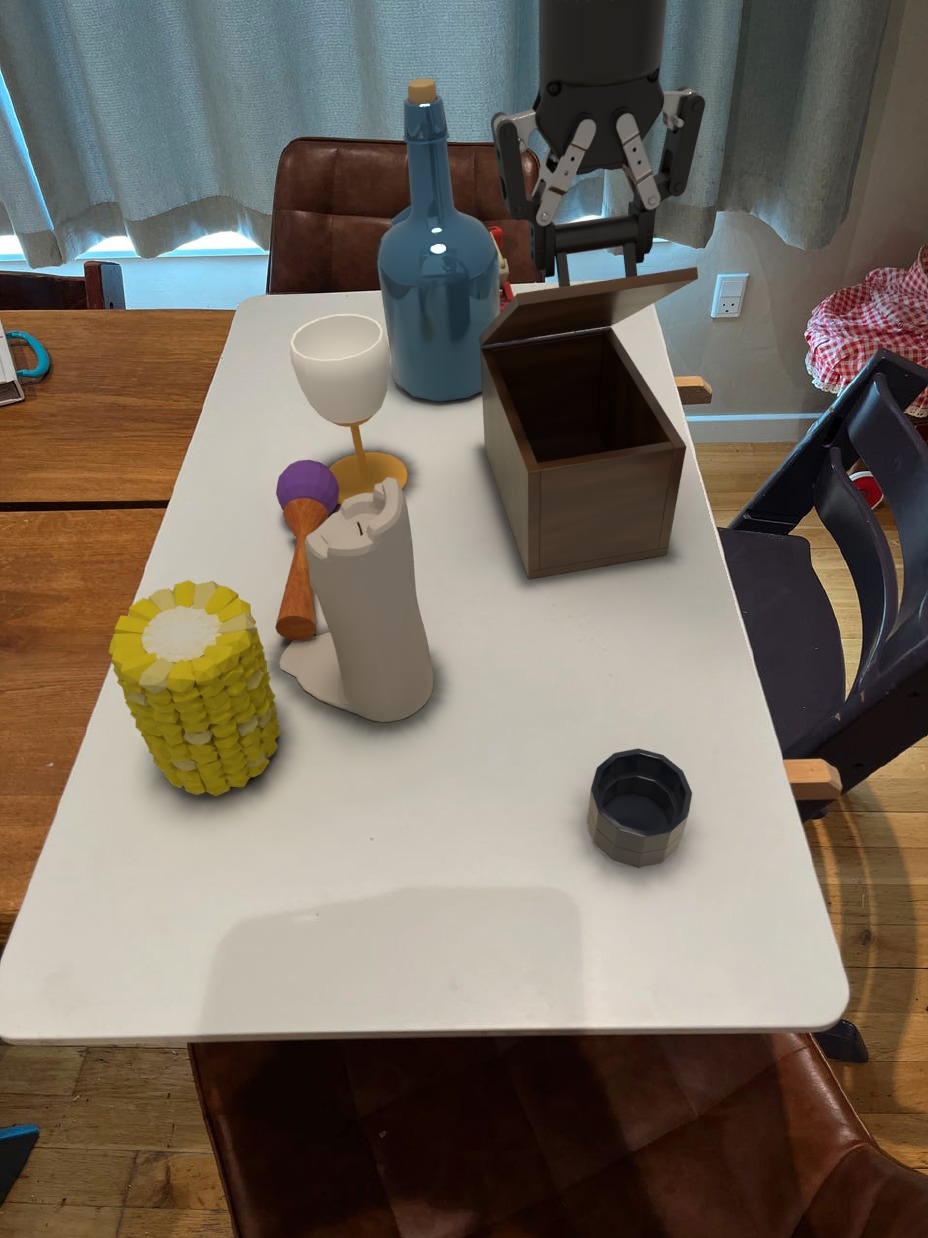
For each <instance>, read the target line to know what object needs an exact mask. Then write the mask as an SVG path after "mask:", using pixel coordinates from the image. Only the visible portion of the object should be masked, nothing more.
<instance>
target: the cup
mask: <svg viewBox="0 0 928 1238" xmlns="http://www.w3.org/2000/svg"><path fill="white" fill-rule="evenodd" d="M289 348H290V359H291V361H290V362H291V365H292V367H293V371H294V374H295V376H296V379H297V382H298V384H299V386H300V389H301V391H302V393H303V395H304V396H305V398H306V400H307V401H308V403H309V405H310V406H311V408H313V409H314V412H316V413H317V414H318V416H319V417H321V418H323V419H324V420H326V421H327V422H330V423H331V424H334V425H337V426H339V427H344V428H349V429H350V432H351V437H352V442H353V447H354V451H355V452H354V453H355V454H351V455H348V456H347V455H346V456H345V457H343V458H341V459H340V460H338V461H336V462H334V463H333V464H332V465H331V466H330V467H328V468H329V470H330V471H331V472H332V473H333V475H334V476H335V478H336V479H337V482H338V487H339V498H338V501H337V505H340V506H341V505H342V503H343V502H344V501H345V499H348V498H350V497H352V496H355V495H358V494H363V493H373V492H374V488H375V485H376V484H379V483H382V482H383V481H384V480H385V479H386V478H387V477H389V478H395V479H396V480H397V481H398V483H399V484H400V485H401V488H402V490H403V489H404V488H405V486H406V485H407V483H408V475H409V471H408V470H407V468H406V466H405V464H404V462H402V460H400V459H398V458H397V457H395V456H394V455H391V454H387V453H383V452H380V451H379V452H378V451H369V452H367V451H364V446H363V441H362V435H361V431H360V426H361V425H364V424H366V423H367V422H369V421H370V420H371V419H372V418H373V417H374V416H375V415H376V414H377V413H378V412H379V411H380V409H381V408H382V407H383V405H384V402H385V400H386V396H387V392H388V388H389V381H390V372H391V355H390V348H389V342H388V339H387V337H386V334H385V330H384V329H383V327H382V326H381V324H380V322H379V321H376V320H375V319H373V318H371V317H369V316H367V315H361V314H356V313H355V314H354V313H339V314H337V313H335V314H330V315H327V316H322V317H319V318H316V319H313V320H311V321H309V322H307V323H305V324H303V325H302V326H301V327H299V328H298V329H297V330H296V331H295V332H293V334H292V337H291V340H290V342H289Z"/></svg>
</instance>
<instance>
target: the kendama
mask: <svg viewBox="0 0 928 1238" xmlns="http://www.w3.org/2000/svg"><path fill="white" fill-rule="evenodd" d="M329 468H330V467H329V466H327V465H325V464H323V463H322V462H320V461H317V460H312V459H300V460H296V461H294V462H292V463H290V464H288V466H287V467H286V468H284V470H283V471H282V472H281V473H280V475H279V476H278V479H277V484H276V490H275V491H276V492H275V495H276V498H277V501H278V504H279V506H280V508H281V509H282V515H283V518H284V520H285V522H286V524H287V526H288V527H289V529H290V531H291V533H292V534H293V536H294V538H295V540H296V544H295V548H294V553H293V556H292V560H291V564H290V568H289V572H288V577H287V580H286V584H285V588H284V591H283V594H282V599H281V603H280V608H279V612H278V616H277V619H276V624H275V630H276V633H277V634H278V635H279V636H281V637H282V638H284V639H286V640H290V641H293V640H305V639H307V638H310V637H311V636H312V635H314V634H315V633H316V630H317V625H316V624H317V623H316V610H315V597H314V592H313V590H312V588H311V586H310V577H309V564H308V560H307V556H306V551H305V539H306V537H307V536H308V535H309V534H311V533H312V532H314V531H315V530H316V529H317V528H318V527H320V526H321V525H322V524H323V523H324V522H325V521H326V520H327V519H328V518H329V516H330V515H331V513H332V512H333V511H334V510H335V508H336V507H337V505H338V504H337V501H338V498H339V487H338V482H337V479H336V478H335V476H334V475H333V473H332V472H331V471H330V470H329ZM314 636H315V635H314Z"/></svg>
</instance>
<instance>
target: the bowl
mask: <svg viewBox="0 0 928 1238" xmlns="http://www.w3.org/2000/svg"><path fill="white" fill-rule="evenodd" d="M591 783H592V784H591V787H590V793H589V803H588V812H587V819H586V820H587V825H588V828H589V832H590V834H591V838H592V841H593V843H594V844H595V845H596V846H597V848H599V849H600V850H601V851H602V852H603V853H604V854H605V855H606V856H607V857H608V858H609V859H610V860H611V861H613V862H615V863H620V864H623V865H626V866H630V867H633V868H636V869H640V868H641V869H642V868H645V867H651V866H655V865H661V864H662V863H664V862H665V861H666V860H667V859H668V858H669V857H670V856H671V855H672V854H673V853H674V852H675V851H676V850H677V849H678V848H679V846H680V844H681V840H682V837H683V834H684V830H685V827H686V824H687V821H688V818H689V814H690V808H691V804H692V797H693V791H692V789H691V786H690V784H689V782H688V779H687V777H686V775H685V773H684V771H683V769H682V768H680V767H679V766H678V765H677V764H676V763H674V762H673V761H672V760H671V759H669V758H668V757H667V756H665V754H662V753H657V752H654V751H650V750H646V749H642V748H639V747H638V748H631V749H627V750H622V751H617V752H614V753H612V754H611V755H610V756H609V757H608V758H606V759H605V760H604V761H603V762H602V763H600V764H599V765H598V766H597V767H596V770H595V772H594V776H593V781H592V782H591Z"/></svg>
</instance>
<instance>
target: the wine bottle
mask: <svg viewBox="0 0 928 1238" xmlns="http://www.w3.org/2000/svg"><path fill="white" fill-rule="evenodd" d="M407 95H408V97H407V98H406V99H404V100H403V135H402V139H403V142H404V143H405V144H406V153H407V154H406V155H407V156H406V157H407V169H408V183H409V195H410V197H409V198H410V205H409V206H407V207H405V208H404V209H403V210H402V211H400V212H399V213H398V214H397V215H396V216H394V217H393V218H392V219H391V221H390V228H389V229H388V230H387V231H386V232H384V234H383V235H382V237H381V238H380V240H379V243H378V245H377V248H376V254H375V255H376V256H375V257H376V263H377V265H376V266H377V272H378V279H379V285H380V292H381V300H382V307H383V313H384V318H385V319H384V320H385V327H386V335H387V342H388V346H389V354H390V362H391V367H392V375H393V381H394V382H395V383H396V384H397V386H398V387H399V388H400V389H402V390H403V391H404V392H406V393H407V394H409V395H410V396H412V397H413V398H417V399H422V400H428V401H434V402H439V403H440V402H445V401H446V402H447V401H455V400H461V399H462V400H463V399H469V398H470V397H472V396H474V395H476V394H479V393H481V392H482V383H481V364H480V343H479V337H480V336H481V335H482V333H483V332H484V331H485V330H486V329H487V328H488V327H489V325H490V324H491V323H492V322H493V321H494V320H495V318H496V317H497V316H498V315H499V314H500V291H501V290H500V285H499V257H498V251H497V249H496V246H495V243H494V241H493V238H492V236H491V234H490V232H489V230H488V228H489V227H487V225H485V223H483V221H481V220H480V219H478V218H476V217H474V216H472V215H470V214H468V213H466V212H463V211H460V210H458V209H457V207H456V206H455V205H454V196H453V186H452V178H451V177H452V176H451V167H450V156H449V148H448V139H449V138H450V132H449V129H448V125H447V119H446V112H445V107H444V101H443V98H442V96H441V95H439V94H437V84H436V81H435V80H433V79H430V78H426V77H425V78H416V79H414V80H410V81H409V82H408V84H407ZM498 344H501V343H498ZM491 345H494V344H491ZM485 346H486V345H485Z"/></svg>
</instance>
